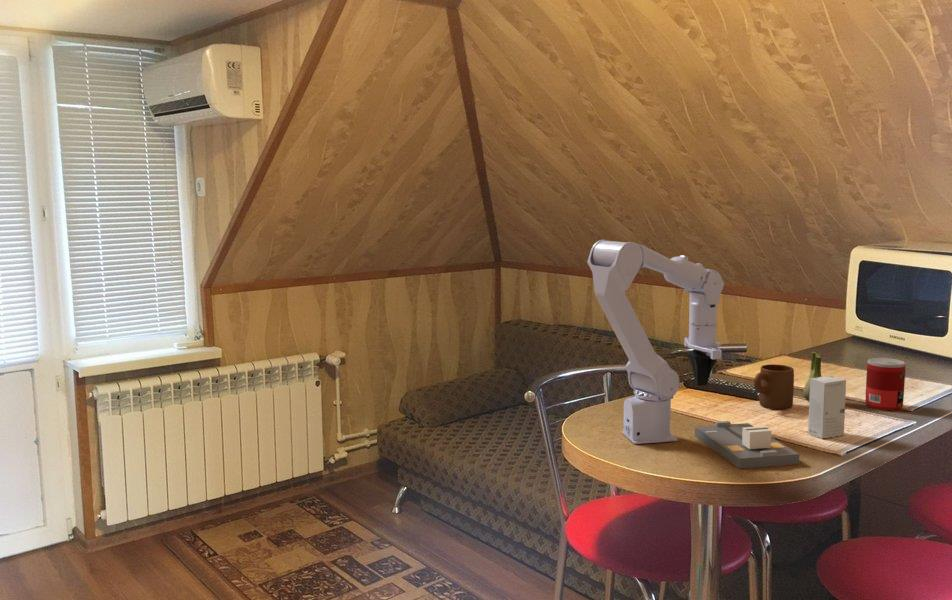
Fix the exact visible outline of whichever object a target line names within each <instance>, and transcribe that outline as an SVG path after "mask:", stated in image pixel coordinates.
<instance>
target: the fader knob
mask: <svg viewBox="0 0 952 600" xmlns="http://www.w3.org/2000/svg"><path fill="white" fill-rule="evenodd" d="M771 437H772V429H769V427H766V426H764V425H761V426H754V427H743V429H742V445H744V446H745V447H747V448H748V449H759V448H771Z"/></svg>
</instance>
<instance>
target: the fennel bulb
mask: <svg viewBox="0 0 952 600" xmlns="http://www.w3.org/2000/svg"><path fill="white" fill-rule="evenodd" d="M810 360H811V361H810V362H811V364H810V372H809V376H808V378H807V381H806V383H805V384H804V387H803V390H802V395H803V398H804V399H805V400H807V402H809V398H810V379H811V378H818V377H822V374H821V373H822V368H821V367H822V364H821V363H822V355H821V354H818V352H815V351H812V352H811V359H810Z"/></svg>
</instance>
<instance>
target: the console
mask: <svg viewBox="0 0 952 600" xmlns="http://www.w3.org/2000/svg"><path fill="white" fill-rule="evenodd" d="M743 427H755V426H754V425H752V424H751V423H748V422H745V423H744V422H742V423H732V424H731V421H729V420H721V421H720V420H719V421H715V422H714V425H705V426H704V425H702V426H700V425H699V426H694V436H695V437H696V438H697V439H698V440H700V441H701V442H703V443H704V444H705V445H706V446H708V447H710V448H711V449H712V450H713V451H715V452H716V453H717V454H719V455H720V456H722V457H723V458H725V459H726V460H728V462H730V463H731V464H732V465H734V466H735V467H737V468H738V469H739V470H741V469H742V470H743V469H754V468H766V467H767V468H768V467H780V466H792V465H800V453H798V452H797V451H795V450H793V449H791V448H790V447H788V446H787V445H785V444H784V443H782V442H780V441H779V440H778V439H777V440H776V439H775V438H774V437H772V436H771V448H759V449H748V448H747V447H745V446H744V445H742V429H743Z"/></svg>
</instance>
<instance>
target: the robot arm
mask: <svg viewBox="0 0 952 600" xmlns="http://www.w3.org/2000/svg"><path fill="white" fill-rule="evenodd" d="M586 263H587V264H588V267H589V268H590V270H591V271H590V272H592V280H593V281H592V282H593V290H594V295H595V298H596V300H597V302H598V305H600V308H601V310H602V312H603V313H604V315H605V317H606V319H607V321H608V323H609V325H610V326H611V328H612V331H613V333H614V334H615V336H616V338H617V340H618V342H619V344H620V345H621V347H622V349H623V351H624V354H625V355H626V357H627V358H628V359H627V360H628V361H627V363H626V365H625V367H624V369H625V370H626V372H627V377H628V378H627V379H628V383H629V386H630V388H632V389H633V394H634V395H635V396H634V395H633V396H632V397H627V398H625V400H624V402H623V418H622V419H623V420H622V421H623V426H622V427H623V430H622V431H621V433H622V434H623V435H624V436H625V437H626V438H627V439H629V440H630V441H631V442H632V443H633V444H635V445H641V444H652V443H654V444H655V443H666V442H667V443H668V442H677V441H678V438H677V437H676V436H675V435H673V433H671V421H672V420H671V416H672V415H671V413H672V412H671V411H672V410H671V409H672V405H671V404H672V400H673V399H674V396H675V395H676V394H677V393H678V390H679V387H680V377H679V374H678V372H677V371H676V370H674V369H673V368H671V367H670V365H669V364H668V363H669V362H668V361H666V359H664V358H663V357H662V356H660V355H659V354H657V353H656V352H655V350H654V347H653V345H652V344H651V342H650V340H649V338H648V336H647V334H646V332H645V330H644V328H643V326H642V324H641V322H640V319H639V318H638V316H637V314H636V312H635V310H634V308H633V307H632V304H631V302H630V300H629V298H628V297H627V295H626V291H627V290H628V289H629V288H630V286H631V285H632V283H633V281H634V280H635V278H636V276H637V274H638V272H639V271H640V269H643V268H647V269H650V270H652V271H656V272H658V273H661V274H663V276H664V280H665V282H668V283H670V284H672V285H675V286H677V287H679V288H682V289H684V290H685V292H686V293H687V294H689V310H688V311H689V316H688V317H689V321H688V323H689V324H688V325H689V326H688V337H684V340H683V341H684V347H686V348H688V349H692V351H687V352H686V357H687V358H688V361H689V363H690V365H691V369H692V373H693V378H694V383H695V384H696V385H697V386H699V387H702V386H707V385H708V384H709V380H710V377H711V376H710V375H711V372H712V370H713V368H714V365H715V363H716V362H717V361H718V360H722V352H723V351H722V349H720V348H719V347H722V343H721V342H720V341H719V342H718V341H717V320H718V318H717V316H718V304H719V302H720V297H721V296H720V295H721V293H722V291H723V290H724V286H725V281H723V277H722V276H721V274H720V273H719V271H717V270H715V269H710V268H705V267H704V264H702V263H699V262H697V263H695V262H693V261H690V260H689V257H688V256H686V255H679V256H673V257H671V258H669V257H667V256H665V255H663V254H661V253H660V252H657V251H655V250H653V249H651V248H650V247H647V246H645V245H643V244H638V243H636V242H633V241H628V242H627V241H626V242H625V241H624V242H623V241H613V240H612V241H611V240H607V239H599V240H597V241H596V242H595V243H594V244H593V245H592V247H591V248H590V252H589V255H588V259H587V262H586Z"/></svg>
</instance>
